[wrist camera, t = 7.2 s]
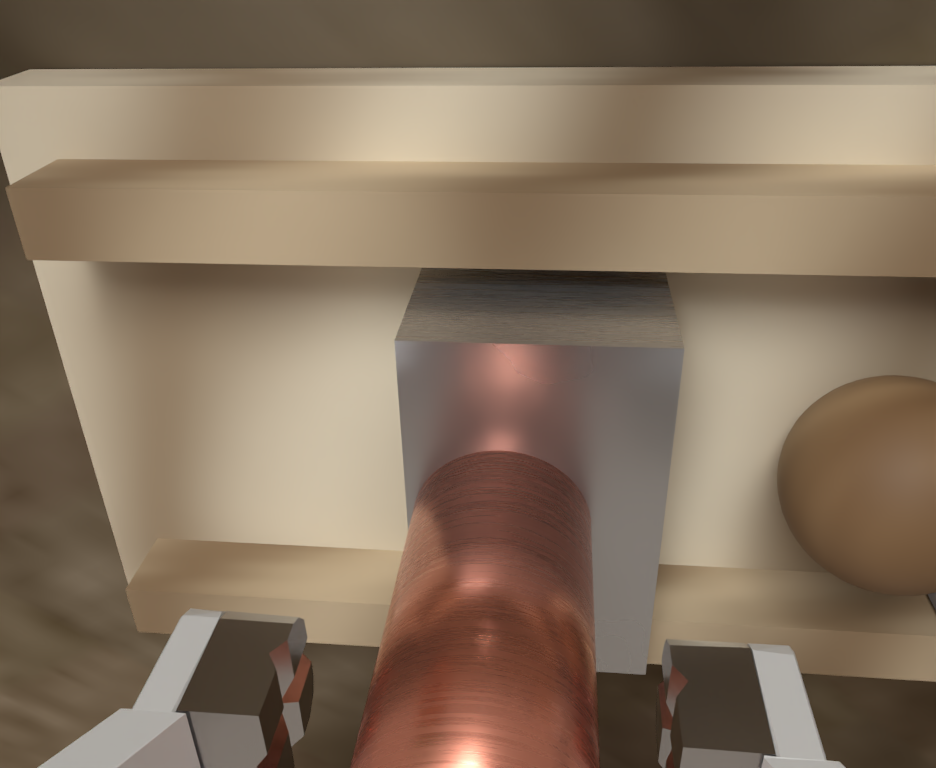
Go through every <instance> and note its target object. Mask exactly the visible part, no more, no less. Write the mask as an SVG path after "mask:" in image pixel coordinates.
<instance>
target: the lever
mask: <svg viewBox="0 0 936 768" xmlns="http://www.w3.org/2000/svg"><path fill="white" fill-rule="evenodd" d="M394 343H395V356H396V370H397V384H398V398H399V411H400V425H401V439H402V453H403V467H404V480H405V494H406V508H407V522H408V533H407V538H406V542H405V546H404V550H403V554H402V558H401V562H400V566H399V570H398V574H397V578H396V582H395V586H394V591H393V595H392V599H391V603H390V607H389V611H388V615H387V619H386V623H385V627H384V631H383V635H382V639H381V644H380V648H379V652H378V656H377V660H376V664H375V668H374V672H373V676H372V680H371V684H370V688H369V692H368V697H367V701H366V705H365V709H364V713H363V717H362V721H361V725H360V729H359V733H358V737H357V741H356V745H355V750H354V754H353V758H352V762H351V766H350V768H600V758H599V731H598V704H597V676H596V672H610V673H625V674H641V675H646V667H647V658H648V650H649V641H650V633H651V625H652V616H653V608H654V600H655V591H656V583H657V575H658V566H659V558H660V549H661V541H662V533H663V524H664V516H665V508H666V499H667V491H668V482H669V474H670V466H671V457H672V449H673V441H674V432H675V424H676V416H677V407H678V399H679V390H680V382H681V374H682V365H683V357H684V345H683V341H682V337H681V333H680V329H679V325H678V321H677V317H676V313H675V309H674V305H673V301H672V297H671V293H670V289H669V285H668V281H667V277H666V273H665V272H628V271H575V270H522V269H469V268H422V269H421V271H420V274H419V277H418V279H417V282H416V285H415V287H414V290H413V293H412V295H411V298H410V301H409V303H408V306H407V308H406V311H405V314H404V316H403V319H402V322H401V324H400V327H399V330H398V332H397V335H396V338H395V340H394Z"/></svg>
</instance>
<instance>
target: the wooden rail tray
mask: <svg viewBox="0 0 936 768" xmlns="http://www.w3.org/2000/svg"><path fill="white" fill-rule="evenodd" d="M0 152H1V155H2V158H3V162H4V165H5V169H6V172H7V175H8V179H9V182H10V185H9V186H7V187H6V188H5V189H6V193H7V196H8V199H9V203H10V206H11V209H12V213H13V216H14V219H15V223H16V226H17V229H18V233H19V236H20V239H21V243H22V246H23V249H24V253H25V256H26V259H27V260H33V263H34V267H35V270H36V273H37V277H38V280H39V284H40V287H41V290H42V294H43V297H44V301H45V304H46V307H47V311H48V314H49V317H50V321H51V324H52V328H53V331H54V334H55V338H56V341H57V345H58V348H59V351H60V355H61V358H62V361H63V365H64V368H65V372H66V375H67V378H68V382H69V385H70V389H71V392H72V395H73V399H74V402H75V405H76V409H77V412H78V416H79V419H80V422H81V426H82V429H83V433H84V436H85V439H86V443H87V446H88V449H89V453H90V456H91V460H92V463H93V466H94V470H95V473H96V476H97V480H98V483H99V487H100V490H101V493H102V497H103V500H104V504H105V507H106V510H107V514H108V517H109V520H110V524H111V527H112V531H113V534H114V537H115V541H116V544H117V548H118V551H119V554H120V558H121V561H122V564H123V568H124V571H125V575H126V578H127V581H128V586H127V588H126V589H125V590H126V594H127V597H128V600H129V604H130V607H131V610H132V614H133V617H134V620H135V624H136V627H137V630H138V632H148V633H164V634H172V633H173V631H174V629H175V627H176V625H177V623H178V621H179V619H180V618H181V617H182V616H183V615H184V614H185V613H186V612H187V611H188V610H189V609H190V608H192V609H204V610H215V611H234V612H246V613H257V614H268V615H280V616H291V617H300V618H302V619H304V622H305V627H306V632H307V637H308V638H307V641H306V642H308V643H324V644H340V645H356V646H372V647H380V644H381V639H382V635H383V631H384V627H385V623H386V619H387V615H388V611H389V607H390V603H391V599H392V595H393V591H394V586H395V582H396V578H397V574H398V570H399V566H400V562H401V558H402V554H403V550H404V546H405V542H406V538H407V533H408V522H407V508H406V494H405V480H404V467H403V453H402V439H401V425H400V411H399V398H398V384H397V370H396V356H395V343H394V340H395V338H396V335H397V332H398V330H399V327H400V324H401V322H402V319H403V316H404V314H405V311H406V308H407V306H408V303H409V301H410V298H411V295H412V293H413V290H414V287H415V285H416V282H417V279H418V277H419V274H420V271H421V269H422V268H469V269H522V270H575V271H628V272H665V273H666V277H667V281H668V285H669V289H670V293H671V297H672V301H673V305H674V309H675V313H676V317H677V321H678V325H679V329H680V333H681V337H682V341H683V345H684V357H683V365H682V374H681V382H680V390H679V399H678V407H677V416H676V424H675V432H674V441H673V449H672V457H671V466H670V474H669V482H668V491H667V499H666V508H665V516H664V524H663V533H662V541H661V549H660V558H659V566H658V575H657V583H656V591H655V600H654V608H653V616H652V625H651V633H650V641H649V650H648V658H647V664H660V665H662V654H663V647H664V644H665V641H666V639H676V640H696V641H716V642H735V643H745V644H746V645H747V644H748V643H751V644H769V645H788V646H790V647H791V649H792V650H793V651H794V652H795V656H796V659H797V662H798V666H799V669H800V672H801V673H804V674H821V675H837V676H853V677H869V678H885V679H901V680H917V681H933V682H936V592H935V593H930V594H925V595H915V596H898V595H888V594H881V593H876V592H871V591H868V590H865V589H862V588H859V587H856V586H854V585H851V584H849V583H847V582H845V581H842V580H841V579H839V578H838V577H836V576H834V575H833V574H831V573H830V572H828V571H826V570H825V569H824V568H822V567H821V566H820V565H819V564H818V563H816V562H815V561H814V560H813V559H812V558H811V557H810V556H809V555H808V554H807V553H806V552H805V551H804V549H803V548H802V547H801V546H800V544H799V543H798V542H797V540H796V539H795V537H794V536H793V534H792V532H791V531H790V529H789V527H788V524H787V522H786V520H785V518H784V515H783V513H782V509H781V505H780V501H779V496H778V489H777V470H778V462H779V458H780V454H781V451H782V447H783V444H784V442H785V440H786V438H787V436H788V434H789V432H790V430H791V429H792V427H793V426H794V424H795V422H796V421H797V420H798V418H799V417H800V416H801V415H802V414H803V412H804V411H805V410H806V409H808V408H809V407H810V406H811V405H812V404H813V403H814V402H816V401H817V400H818V399H819V398H821V397H822V396H824V395H825V394H827V393H829V392H830V391H832V390H834V389H836V388H838V387H840V386H842V385H844V384H847V383H850V382H853V381H856V380H860V379H864V378H869V377H875V376H883V375H901V376H911V377H918V378H923V379H927V380H931V381H934V382H936V66H777V67H513V68H250V69H30V70H27V71H24V72H21V73H18V74H15V75H12V76H10V77H7V78H4V79H1V80H0Z"/></svg>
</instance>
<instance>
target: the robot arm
mask: <svg viewBox="0 0 936 768" xmlns="http://www.w3.org/2000/svg"><path fill="white" fill-rule="evenodd" d="M307 638H308V637H307V632H306V627H305V622H304V619H302V618H300V617H291V616H280V615H268V614H257V613H246V612H234V611H215V610H204V609H192V608H190V609H189V610H188V611H187V612H186V613H185V614H184V615H183V616H182V617H181V618H180V619H179V621H178V623H177V625H176V627H175V629H174V631H173V633H172V635H171V636H170V638H169V640H168V642H167V644H166V646H165V648H164V650H163V651H162V653H161V655H160V657H159V659H158V661H157V663H156V665H155V666H154V668H153V670H152V672H151V674H150V676H149V678H148V680H147V681H146V683H145V685H144V687H143V689H142V691H141V693H140V695H139V697H138V698H137V700H136V702H135V704H134V706H133V708H132V709H123V708H121V709H119V710H118V711H116V712H115V713H114V714H112V715H111V716H109V717H108V718H107V719H105V720H104V721H102V722H101V723H100V724H98V725H97V726H95V727H94V728H93V729H91V730H90V731H88V732H87V733H86V734H84V735H83V736H81V737H80V738H79V739H77V740H76V741H74V742H73V743H72V744H70V745H69V746H67V747H66V748H64V749H63V750H62V751H60V752H59V753H57V754H56V755H55V756H53V757H52V758H50V759H49V760H48V761H46V762H45V763H43V764H42V765H41V766H39V767H38V768H294V767H295V765H294V759H293V754H292V748H291V746H293V745H294V744H295V743H296V742H297V741H298V740H300V739H301V738H302V737H303V736H304V735H305V731H306V728H307V724H308V721H309V717H310V712H311V706H312V699H313V669H312V662H311V661H310V660H309V659H308V658H307V657H306V656H305V655H304V654H303V650H304V647H305V644H306V641H307ZM662 670H663V679H664V681H663V682H661V683H660V684H659V685H658V692H657V702H656V744H657V755H658V763H659V764H660V765H661V766H662V767H663V768H846V767H845V766H844V765H843V764H842V763H841V762H839V761H829V760H827V759H826V756H825V753H824V749H823V746H822V743H821V739H820V736H819V733H818V729H817V726H816V722H815V719H814V716H813V712H812V709H811V706H810V702H809V699H808V696H807V692H806V689H805V686H804V682H803V679H802V676H801V672H800V669H799V666H798V662H797V659H796V656H795V652H794V651H793V650H792V649H791V647H790V646H788V645H769V644H751V643H748V644H747V645H746V644H745V643H735V642H716V641H696V640H676V639H666V641H665V644H664V647H663V654H662Z"/></svg>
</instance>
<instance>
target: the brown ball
mask: <svg viewBox="0 0 936 768" xmlns="http://www.w3.org/2000/svg"><path fill="white" fill-rule="evenodd" d="M777 489H778V496H779V501H780V505H781V509H782V513H783V515H784V518H785V520H786V522H787V524H788V527H789V529H790V531H791V532H792V534H793V536H794V537H795V539H796V540H797V542H798V543H799V544H800V546H801V547H802V548H803V549H804V551H805V552H806V553H807V554H808V555H809V556H810V557H811V558H812V559H813V560H814V561H815V562H816V563H818V564H819V565H820V566H821V567H822V568H824V569H825V570H826V571H828V572H830V573H831V574H833V575H834V576H836V577H838V578H839V579H841V580H842V581H845V582H847V583H849V584H851V585H854V586H856V587H859V588H862V589H865V590H868V591H871V592H876V593H881V594H888V595H898V596H915V595H925V594H930V593H935V592H936V382H934V381H931V380H927V379H923V378H918V377H911V376H901V375H883V376H875V377H869V378H864V379H860V380H856V381H853V382H850V383H847V384H844V385H842V386H840V387H838V388H836V389H834V390H832V391H830V392H829V393H827V394H825V395H824V396H822V397H821V398H819V399H818V400H817V401H816V402H814V403H813V404H812V405H811V406H810V407H809V408H808V409H806V410H805V411H804V412H803V414H802V415H801V416H800V417H799V418H798V420H797V421H796V422H795V424H794V426H793V427H792V429H791V430H790V432H789V434H788V436H787V438H786V440H785V442H784V444H783V447H782V451H781V454H780V458H779V462H778V470H777Z"/></svg>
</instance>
